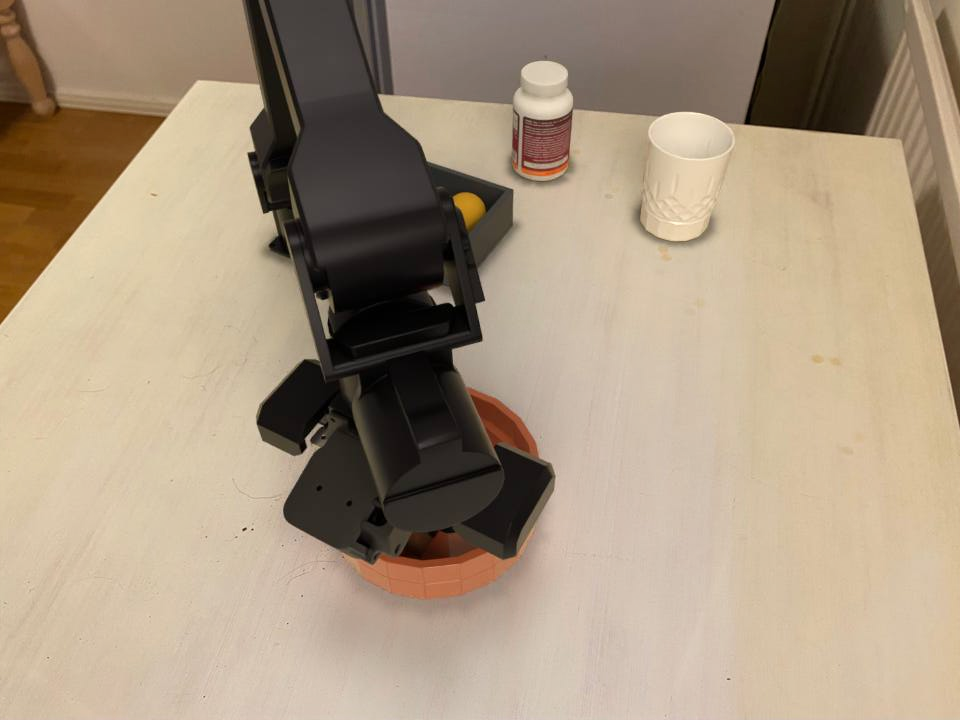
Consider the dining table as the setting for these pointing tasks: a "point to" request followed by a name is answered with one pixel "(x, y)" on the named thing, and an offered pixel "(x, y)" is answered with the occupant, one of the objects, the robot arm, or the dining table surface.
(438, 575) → the bowl
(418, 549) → the toy block
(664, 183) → the white cup
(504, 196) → the bin
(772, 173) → the dining table surface
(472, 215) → the toy ball
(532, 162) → the pill bottle
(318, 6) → the robot arm
